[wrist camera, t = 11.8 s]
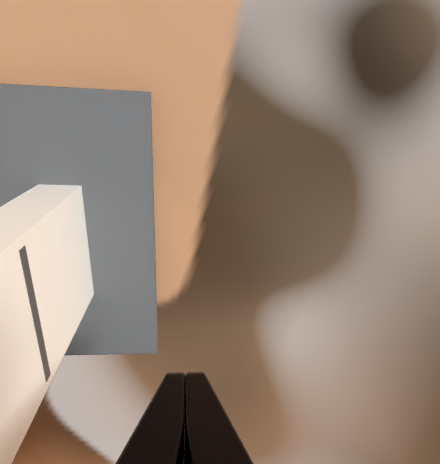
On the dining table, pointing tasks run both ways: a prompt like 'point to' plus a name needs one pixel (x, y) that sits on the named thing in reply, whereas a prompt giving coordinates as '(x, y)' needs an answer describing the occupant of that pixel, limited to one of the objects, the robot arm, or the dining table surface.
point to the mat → (93, 197)
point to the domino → (38, 299)
